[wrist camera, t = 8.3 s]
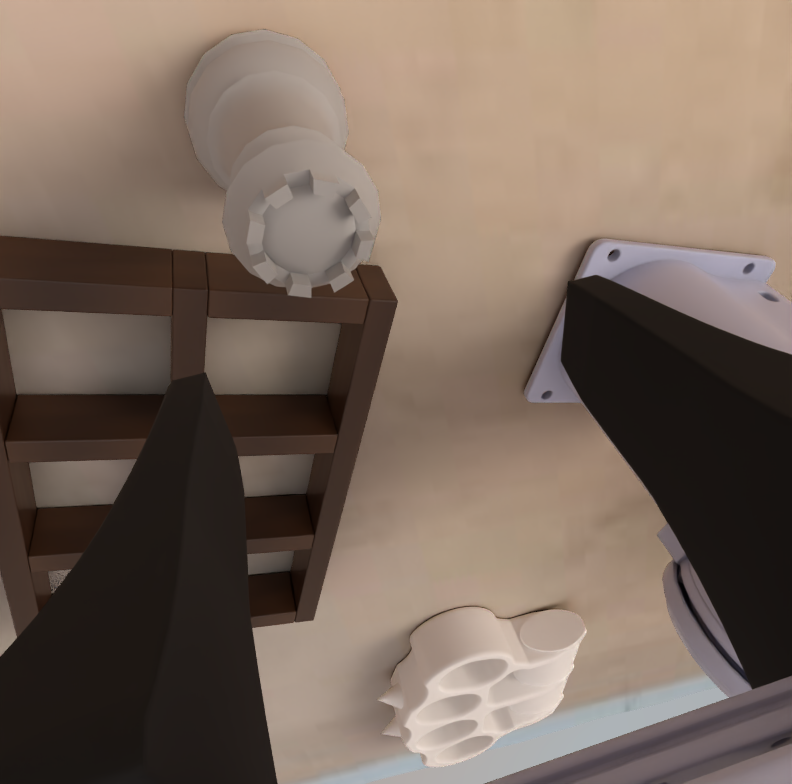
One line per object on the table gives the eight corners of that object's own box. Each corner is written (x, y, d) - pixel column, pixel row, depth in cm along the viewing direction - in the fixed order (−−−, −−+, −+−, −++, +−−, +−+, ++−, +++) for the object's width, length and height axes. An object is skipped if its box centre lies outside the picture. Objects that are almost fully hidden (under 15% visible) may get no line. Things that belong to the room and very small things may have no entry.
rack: (380, 265, 22) (399, 300, 21) (306, 580, 34) (313, 620, 32) (-53, 231, 18) (-76, 273, 16) (30, 608, 29) (21, 657, 27)
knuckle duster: (544, 689, 54) (378, 740, 51) (579, 573, 42) (365, 632, 39) (562, 730, 51) (389, 785, 48) (605, 619, 39) (378, 685, 36)
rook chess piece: (305, 209, 20) (362, 356, 14) (163, 155, 18) (162, 303, 12) (366, 71, 18) (461, 181, 12) (213, -9, 16) (240, 77, 10)
